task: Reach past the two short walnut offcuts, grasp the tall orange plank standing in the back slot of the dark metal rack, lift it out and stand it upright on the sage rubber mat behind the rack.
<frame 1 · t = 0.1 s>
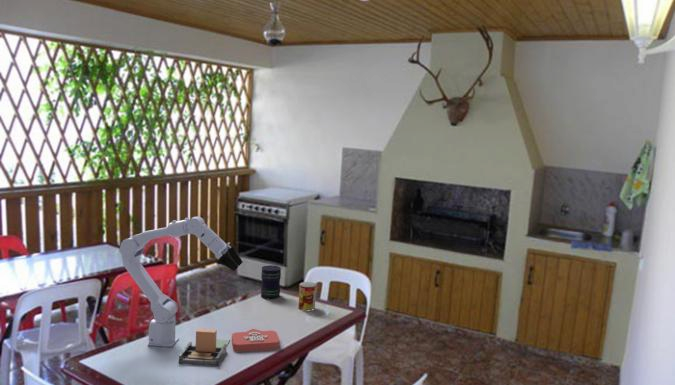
hand: (238, 266, 191), 32 cm above the table, tool tilted 50°, fingers open, 7 cm apart
canned food: (306, 308, 242), on the table
rack: (203, 357, 183), on the table
mat: (212, 344, 195), on the table
storage jar: (270, 296, 257), on the table
offcut short: (200, 359, 182), resting in rack
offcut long: (200, 362, 180), resting in rack
tall orange plank: (205, 353, 187), resting in rack
plaque: (254, 344, 199), on the table
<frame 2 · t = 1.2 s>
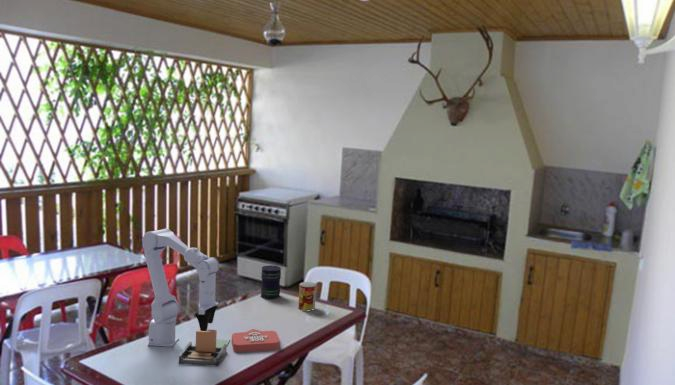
hand: (206, 326, 186), 10 cm above the table, tool pointing down, fingers open, 7 cm apart
nothing on the table moved.
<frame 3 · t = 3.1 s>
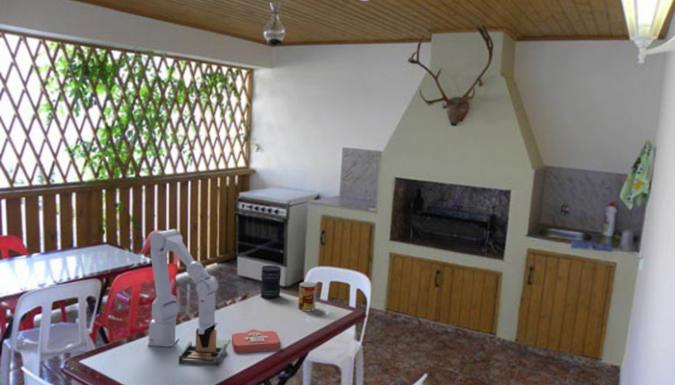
hand: (206, 345, 186), 3 cm above the table, tool pointing down, fingers closed on tall orange plank, 2 cm apart
tall orange plank: (205, 353, 187), resting in rack, touching gripper
when the fingers open (5 cm above the table, at t = 6.7 s): tall orange plank stays where it is, resting on mat.
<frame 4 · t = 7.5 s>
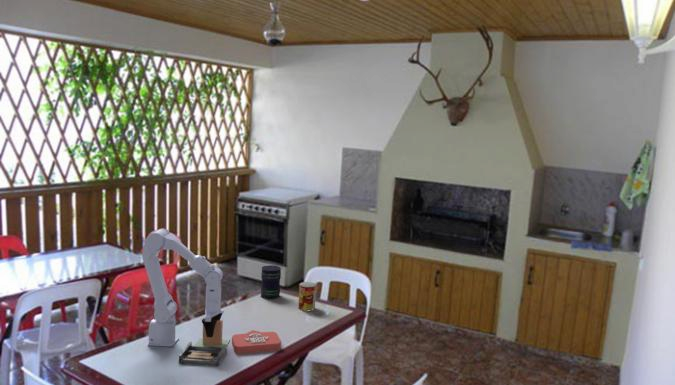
hand: (212, 333, 195), 5 cm above the table, tool pointing down, fingers open, 7 cm apart
tall orange plank: (212, 343, 195), resting on mat
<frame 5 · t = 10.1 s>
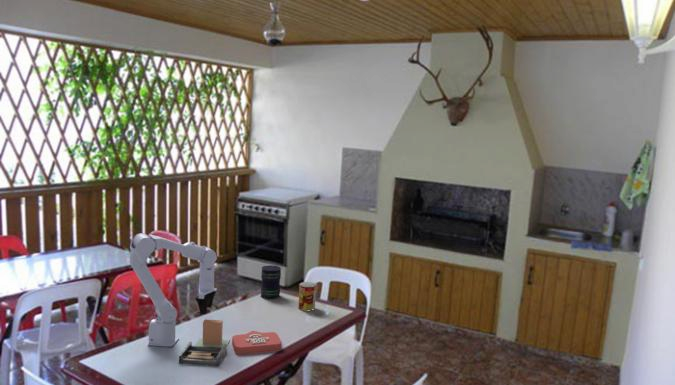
hand: (205, 310, 202), 10 cm above the table, tool pointing down, fingers open, 7 cm apart
at the end: tall orange plank inside the target area (0.1 cm from its centre), resting on mat; tall orange plank tilted 0°; the gripper is holding nothing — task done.
